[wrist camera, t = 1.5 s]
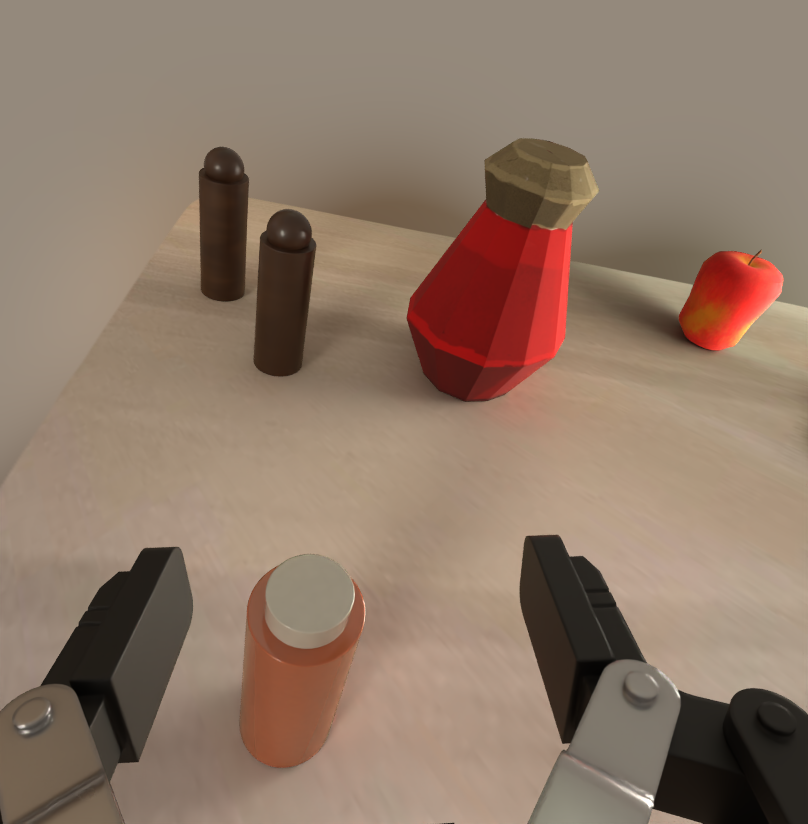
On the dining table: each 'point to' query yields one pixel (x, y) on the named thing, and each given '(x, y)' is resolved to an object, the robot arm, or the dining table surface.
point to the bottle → (504, 275)
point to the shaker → (297, 657)
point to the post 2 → (283, 293)
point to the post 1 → (223, 224)
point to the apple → (728, 298)
